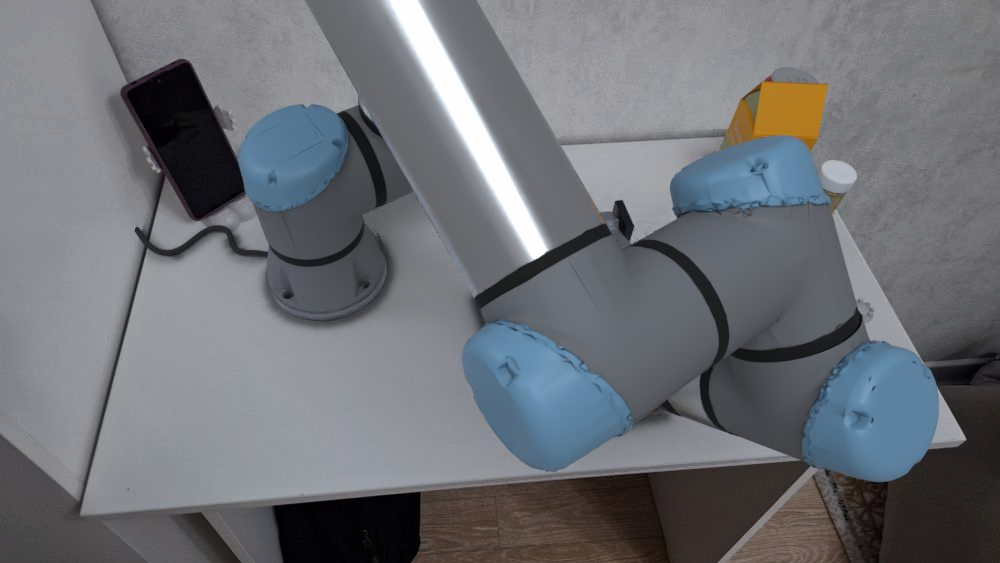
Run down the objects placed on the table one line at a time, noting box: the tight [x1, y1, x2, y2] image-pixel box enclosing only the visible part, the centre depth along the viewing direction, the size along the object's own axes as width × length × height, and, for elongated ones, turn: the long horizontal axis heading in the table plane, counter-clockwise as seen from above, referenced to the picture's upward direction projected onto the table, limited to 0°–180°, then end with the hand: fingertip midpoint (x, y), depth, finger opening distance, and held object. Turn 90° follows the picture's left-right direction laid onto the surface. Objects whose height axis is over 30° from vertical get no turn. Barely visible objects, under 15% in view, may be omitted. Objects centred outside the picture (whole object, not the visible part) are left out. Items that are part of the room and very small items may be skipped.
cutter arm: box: [599, 210, 632, 250], centre depth 68 cm, size 15×5×2 cm, turn 11°
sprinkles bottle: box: [817, 159, 858, 215], centre depth 84 cm, size 5×5×13 cm
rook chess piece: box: [856, 297, 875, 324], centre depth 76 cm, size 4×4×8 cm
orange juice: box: [718, 80, 829, 152], centre depth 87 cm, size 8×9×20 cm
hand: (546, 331), depth 67 cm, fingers closed on butter, 5 cm apart
